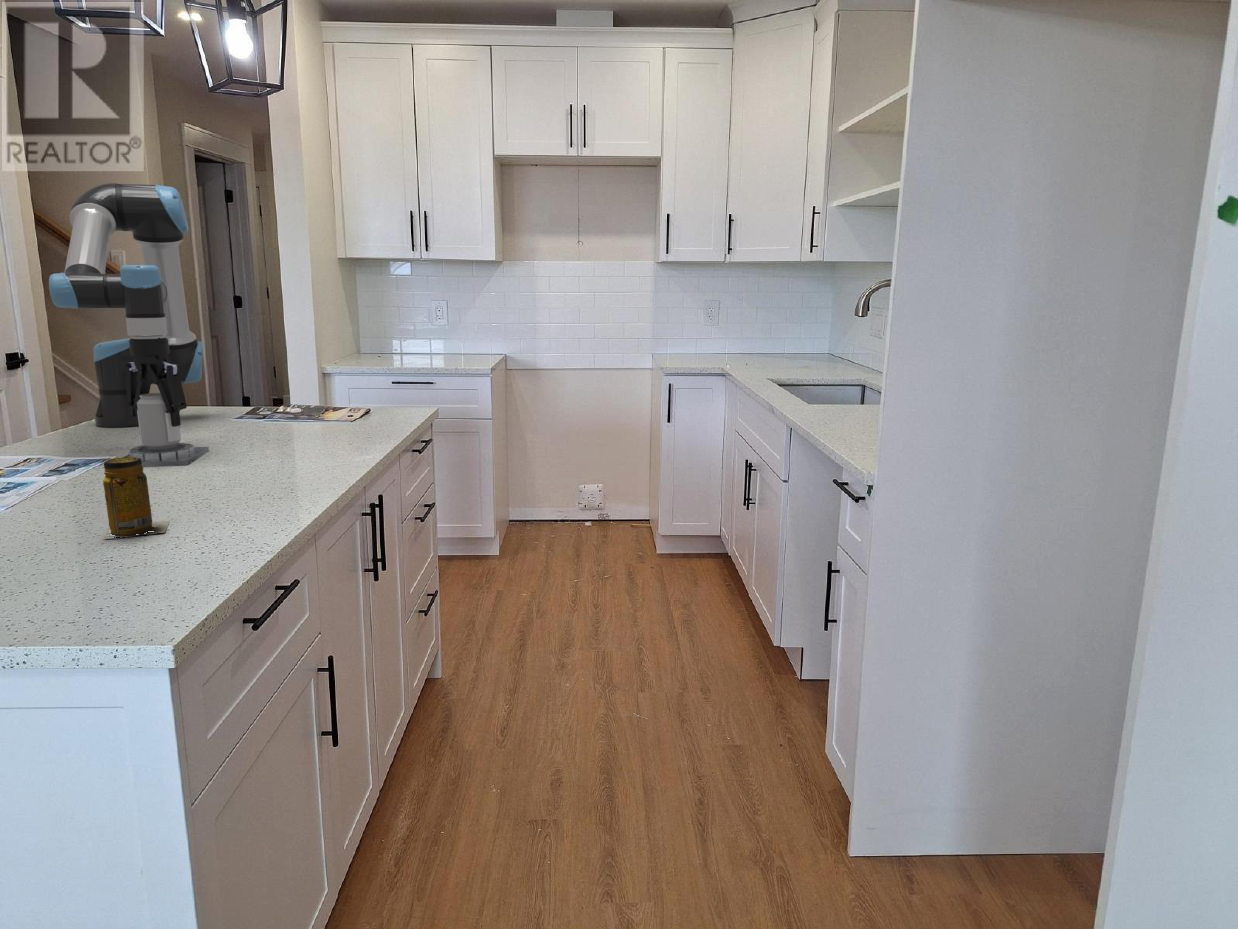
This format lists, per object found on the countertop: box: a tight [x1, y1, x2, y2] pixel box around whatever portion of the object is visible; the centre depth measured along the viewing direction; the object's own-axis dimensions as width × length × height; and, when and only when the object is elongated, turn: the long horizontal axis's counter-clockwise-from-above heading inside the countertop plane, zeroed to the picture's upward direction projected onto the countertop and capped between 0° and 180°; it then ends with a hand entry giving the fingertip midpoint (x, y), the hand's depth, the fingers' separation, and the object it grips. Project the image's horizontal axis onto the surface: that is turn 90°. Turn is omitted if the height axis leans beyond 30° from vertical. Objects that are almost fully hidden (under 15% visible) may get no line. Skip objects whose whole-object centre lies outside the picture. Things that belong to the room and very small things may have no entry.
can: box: [137, 392, 181, 449], centre depth 180 cm, size 8×8×12 cm
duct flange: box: [124, 441, 210, 467], centre depth 182 cm, size 15×15×2 cm
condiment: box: [102, 456, 170, 540], centre depth 130 cm, size 7×8×12 cm
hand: (160, 438), depth 181 cm, fingers open, 8 cm apart
